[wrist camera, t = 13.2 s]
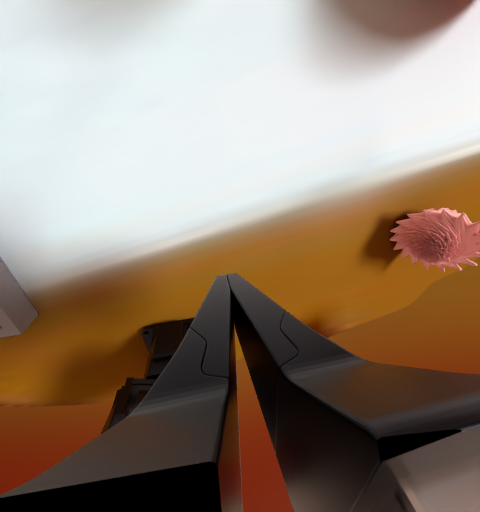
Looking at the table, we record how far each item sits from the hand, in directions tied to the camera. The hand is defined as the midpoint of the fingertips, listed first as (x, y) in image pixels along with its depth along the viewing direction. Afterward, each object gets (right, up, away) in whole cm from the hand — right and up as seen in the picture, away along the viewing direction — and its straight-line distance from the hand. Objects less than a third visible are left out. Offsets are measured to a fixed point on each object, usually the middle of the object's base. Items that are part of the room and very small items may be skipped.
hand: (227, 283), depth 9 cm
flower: (+20, +4, +16) cm, 26 cm away
